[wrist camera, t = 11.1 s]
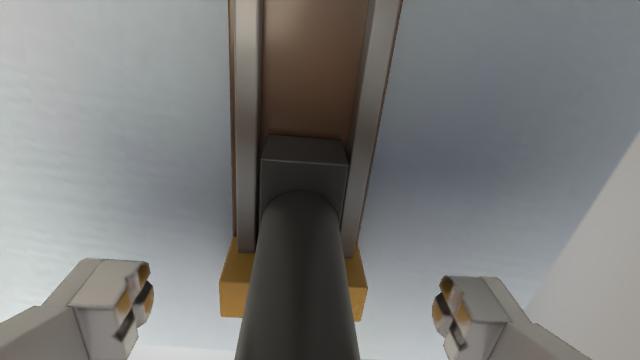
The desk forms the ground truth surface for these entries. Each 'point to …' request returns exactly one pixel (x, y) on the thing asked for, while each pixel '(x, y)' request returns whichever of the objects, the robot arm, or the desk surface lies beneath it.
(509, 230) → the desk surface
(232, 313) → the block
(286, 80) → the rail
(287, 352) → the nozzle
